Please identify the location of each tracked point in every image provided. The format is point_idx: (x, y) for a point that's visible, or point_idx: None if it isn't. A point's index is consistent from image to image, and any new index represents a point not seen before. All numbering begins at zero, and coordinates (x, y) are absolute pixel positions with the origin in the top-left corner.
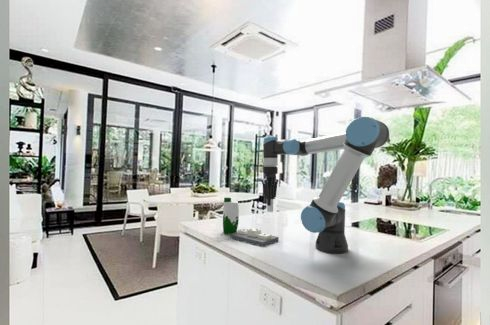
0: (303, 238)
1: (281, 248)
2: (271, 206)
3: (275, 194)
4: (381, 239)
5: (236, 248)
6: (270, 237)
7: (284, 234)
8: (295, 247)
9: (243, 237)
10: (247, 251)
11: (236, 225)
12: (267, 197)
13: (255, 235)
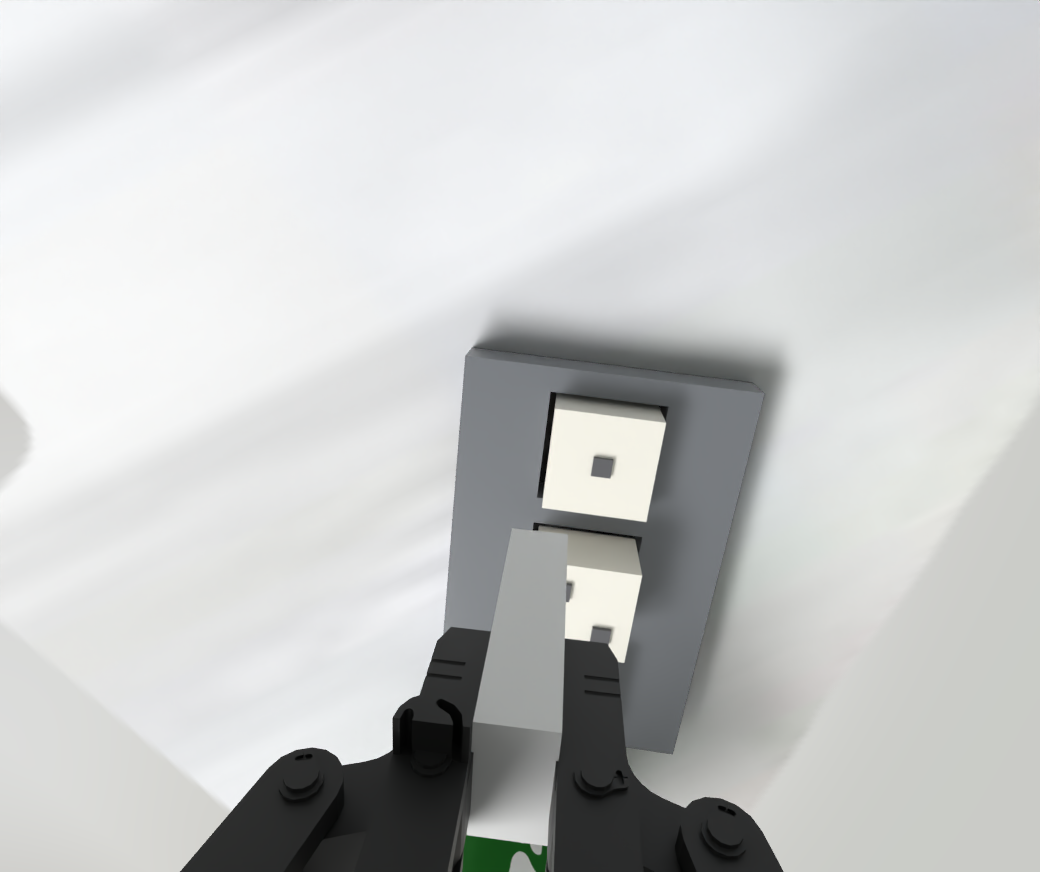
0: (191, 161)
1: (708, 192)
2: (563, 600)
3: (261, 838)
4: None
5: (937, 537)
6: (569, 403)
7: (210, 405)
8: (582, 75)
9: (706, 616)
10: (979, 418)
11: None
12: (755, 851)
13: (624, 547)
